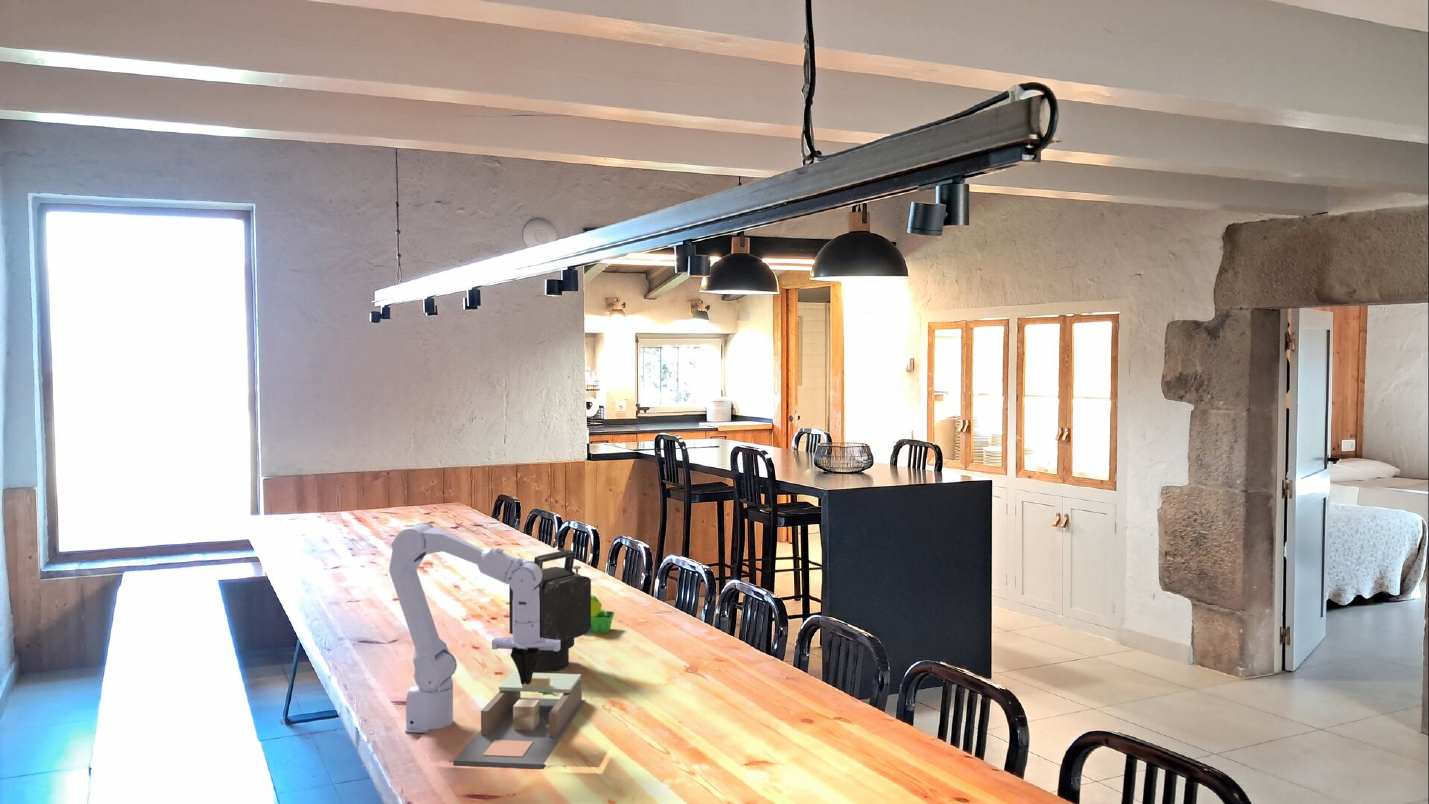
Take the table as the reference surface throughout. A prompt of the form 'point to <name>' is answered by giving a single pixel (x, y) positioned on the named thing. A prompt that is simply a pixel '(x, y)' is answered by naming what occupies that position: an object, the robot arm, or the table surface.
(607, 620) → the fruit basket
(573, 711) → the board
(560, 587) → the lantern
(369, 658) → the table surface
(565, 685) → the lid
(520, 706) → the block
